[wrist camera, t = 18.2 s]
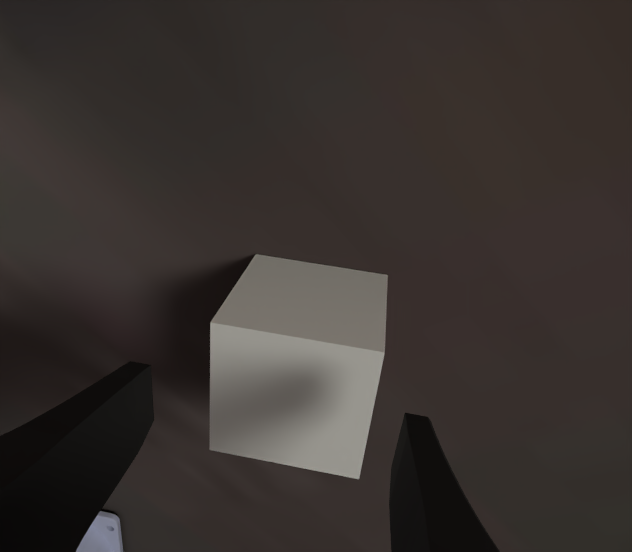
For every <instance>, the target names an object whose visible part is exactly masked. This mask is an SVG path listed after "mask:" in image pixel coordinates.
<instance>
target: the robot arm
mask: <svg viewBox="0 0 632 552" xmlns="http://www.w3.org/2000/svg"><path fill="white" fill-rule="evenodd" d="M153 421H154V413H153V396H152V378H151V365H147V364H142V363H136V362H131V361H130V362H129V363H127V364H125V365H123V366H122V367H120V368H119V369H117V370H115V371H114V372H112V373H111V374H109V375H107V376H106V377H104V378H103V379H101V380H99V381H98V382H96V383H95V384H93V385H92V386H90V387H88V388H87V389H85V390H83V391H82V392H80V393H78V394H77V395H75V396H74V397H72V398H70V399H69V400H67V401H65V402H64V403H62V404H60V405H58V406H56V407H55V408H53V409H51V410H49V411H47V412H46V413H44V414H42V415H40V416H38V417H37V418H35V419H33V420H31V421H30V422H28V423H26V424H24V425H22V426H20V427H18V428H16V429H14V430H12V431H10V432H8V433H6V434H4V435H1V436H0V552H123V545H122V536H121V527H120V520H119V517H118V516H117V515H115V514H112V513H108V512H103V511H100V510H101V509H102V507H103V506H104V504H105V503H106V501H107V500H108V498H109V497H110V495H111V494H112V492H113V491H114V489H115V488H116V486H117V485H118V483H119V482H120V480H121V478H122V477H123V475H124V474H125V472H126V471H127V469H128V468H129V466H130V465H131V463H132V461H133V460H134V458H135V457H136V455H137V454H138V452H139V450H140V448H141V446H142V444H143V442H144V440H145V438H146V436H147V434H148V432H149V429H150V427H151V425H152V423H153ZM389 508H390V530H391V550H392V552H500V551H499V550H498V548H497V547H496V545H495V544H494V542H493V541H492V539H491V538H490V536H489V535H488V533H487V532H486V530H485V528H484V527H483V525H482V524H481V522H480V520H479V519H478V517H477V515H476V514H475V512H474V510H473V509H472V507H471V505H470V503H469V502H468V500H467V498H466V496H465V494H464V493H463V491H462V489H461V487H460V485H459V483H458V481H457V479H456V477H455V475H454V473H453V471H452V469H451V467H450V465H449V463H448V461H447V459H446V457H445V455H444V452H443V450H442V448H441V446H440V443H439V441H438V438H437V436H436V434H435V431H434V428H433V426H432V423H431V421H430V419H429V418H428V417H425V416H420V415H414V414H409V413H405V415H404V419H403V423H402V427H401V431H400V435H399V439H398V443H397V447H396V451H395V455H394V459H393V463H392V467H391V483H390V500H389Z"/></svg>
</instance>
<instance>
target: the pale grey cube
mask: <svg viewBox="0 0 632 552" xmlns="http://www.w3.org/2000/svg"><path fill="white" fill-rule="evenodd" d="M387 279H388V275H384V274H378V273H372V272H365V271H359V270H353V269H346V268H340V267H334V266H327V265H321V264H315V263H308V262H302V261H296V260H289V259H283V258H277V257H270V256H264V255H258V254H256V255H255V256H254V258H253V259H252V261H251V262H250V264H249V265H248V267H247V268H246V270H245V271H244V273H243V274H242V276H241V277H240V279H239V280H238V282H237V283H236V285H235V286H234V288H233V289H232V291H231V292H230V294H229V295H228V297H227V298H226V300H225V301H224V303H223V304H222V306H221V307H220V309H219V310H218V312H217V313H216V315H215V316H214V318H213V319H212V321H211V322H210V450H213V451H218V452H223V453H228V454H234V455H239V456H244V457H249V458H254V459H259V460H264V461H269V462H274V463H279V464H284V465H289V466H295V467H300V468H305V469H310V470H315V471H320V472H325V473H330V474H335V475H340V476H345V477H350V478H356V479H359V477H360V472H361V467H362V462H363V457H364V452H365V447H366V442H367V437H368V432H369V427H370V422H371V417H372V412H373V407H374V402H375V398H376V393H377V388H378V383H379V378H380V373H381V368H382V363H383V358H384V353H385V330H386V305H387Z"/></svg>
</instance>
